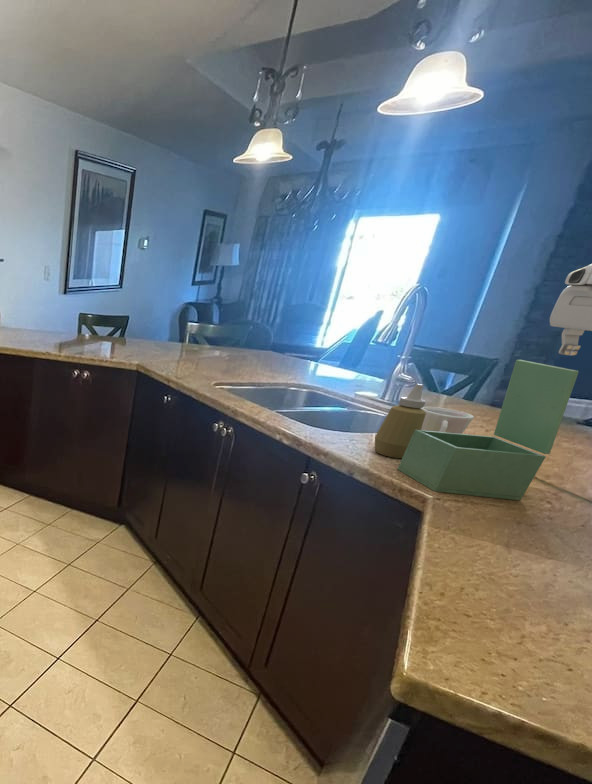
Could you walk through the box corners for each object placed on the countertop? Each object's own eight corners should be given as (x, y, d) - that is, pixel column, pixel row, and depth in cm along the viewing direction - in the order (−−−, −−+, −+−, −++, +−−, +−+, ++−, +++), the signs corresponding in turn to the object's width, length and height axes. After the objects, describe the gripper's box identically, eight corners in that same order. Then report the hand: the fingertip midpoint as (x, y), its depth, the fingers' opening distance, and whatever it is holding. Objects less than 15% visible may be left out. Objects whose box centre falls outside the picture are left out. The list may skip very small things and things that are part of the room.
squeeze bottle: (416, 462, 119) (450, 389, 112) (377, 457, 122) (407, 385, 114) (400, 451, 126) (431, 382, 119) (363, 447, 129) (391, 379, 121)
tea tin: (434, 491, 103) (456, 447, 99) (397, 469, 114) (414, 429, 110) (520, 500, 100) (546, 456, 96) (473, 477, 112) (494, 436, 108)
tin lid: (573, 371, 90) (579, 370, 90) (515, 359, 102) (520, 359, 101) (544, 454, 96) (550, 454, 96) (493, 434, 108) (497, 434, 107)
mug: (455, 448, 131) (472, 412, 127) (458, 462, 121) (478, 423, 117) (404, 438, 137) (420, 404, 133) (403, 451, 127) (420, 414, 123)
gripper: (725, 274, 71) (667, 369, 77) (605, 275, 89) (566, 352, 95) (666, 273, 73) (614, 366, 79) (560, 274, 91) (524, 349, 96)
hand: (587, 358), depth 87 cm, fingers open, 8 cm apart
